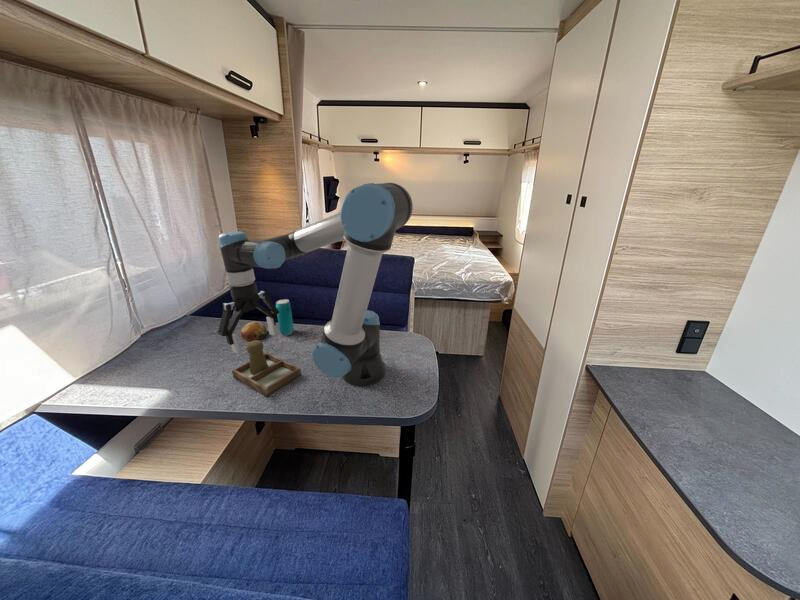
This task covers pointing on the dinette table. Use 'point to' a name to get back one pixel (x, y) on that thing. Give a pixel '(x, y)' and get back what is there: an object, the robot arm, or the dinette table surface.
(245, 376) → the tray
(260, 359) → the olive rounded lobed piece
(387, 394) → the dinette table surface
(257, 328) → the bread roll
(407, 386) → the dinette table surface
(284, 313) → the beverage can
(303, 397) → the dinette table surface
